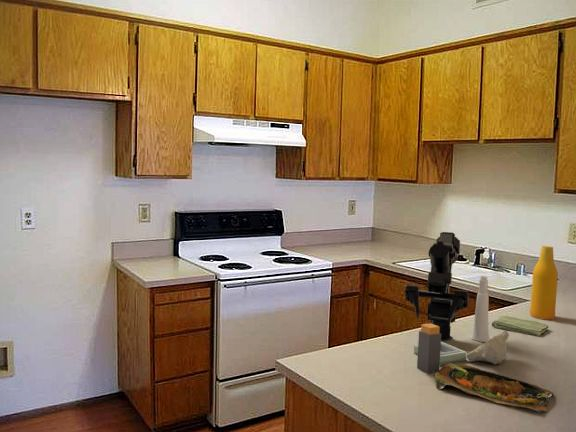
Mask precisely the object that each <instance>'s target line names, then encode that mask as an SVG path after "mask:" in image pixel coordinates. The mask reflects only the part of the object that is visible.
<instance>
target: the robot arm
mask: <svg viewBox="0 0 576 432" xmlns="http://www.w3.org/2000/svg"><path fill="white" fill-rule="evenodd" d="M455 233H456V232H455ZM455 233H454V232H449V231H448V232H447V231H442V232H440V233H439V236H438V237H437V238H436V240H435V241H436V242H434V243H433V244H432V245H431V246H430V248H429V249H428V257H429V261H430V271H429V272H428V275H427V282H426V289H427V290H421V289H420V286H419V285H415V284H407V285H405V288H404V296H405V300H406V301H407V302H409V303H410V304H412V305H413V307H414V310H415V314H416V318H417V319H419V317H420V298H428V299H429V298H430V301H429V302H428V304H427V320H428V321H430V323H431V324H434V325H437V326H439V327H440V330H439V333H441V341H446V340H452V339H454V337H453V336H451V324H453V323H456V314H457V313H458V312H459V311H460V310H463V309H467V308H468V307H469V292H468V290H463V289H462V290H461V289H454V293H450V287H451V284H452V278H453V273H452V269H453V265H454V264H455V263H456V261H458V257H459V256H458V255H460V253H461V240H460V239H458V237H456V234H455Z"/></svg>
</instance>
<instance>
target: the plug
mask: <svg viewBox="0 0 576 432" xmlns="http://www.w3.org/2000/svg"><path fill="white" fill-rule="evenodd" d="M439 330H440V327H439V326H437V325H434V324H431V322H429V323H423V324H421V326H420V330H419V331H418V342H417V345H418V355H417V359H416V360H417V362H416V369H418V370H419V371H422V372H424V373H426V374H431V373H437V372H438V371H439V370H440V348H441V342H442V340H441V333H439Z"/></svg>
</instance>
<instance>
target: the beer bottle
mask: <svg viewBox="0 0 576 432" xmlns="http://www.w3.org/2000/svg"><path fill="white" fill-rule="evenodd" d="M539 253H540V254H539V259H538V261H537V262H536V264H535V266H534V268H533V271H532V282H531V283H532V284H531V295H530V296H531V297H530V308H529V314H530V316H531V317H532V318H535V319H540V320H548V321H549V320H550V321H551V320H553V319H555V316H556V305H557V303H556V302H557V291H558V280H559V279H558V277H559V274H558V270H557V269H558V268H557V267H556V266H557V265H555V260H554V247H553V246H551V245H541V248H540V252H539Z"/></svg>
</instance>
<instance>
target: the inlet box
mask: <svg viewBox="0 0 576 432" xmlns="http://www.w3.org/2000/svg"><path fill="white" fill-rule="evenodd" d="M413 347H414V348H413V353H414V355H417V356H418V344H417V345H415V344H414V346H413ZM466 360H467V351H465V350H463V349H460V348H457V347H456V346H453V345H450V344H449V343H446V342H443V341H441V348H440V365H441V366H442V365H446V364H448V363H452V364H453V363H456V362H462V361H466ZM440 365H439V366H440Z"/></svg>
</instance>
